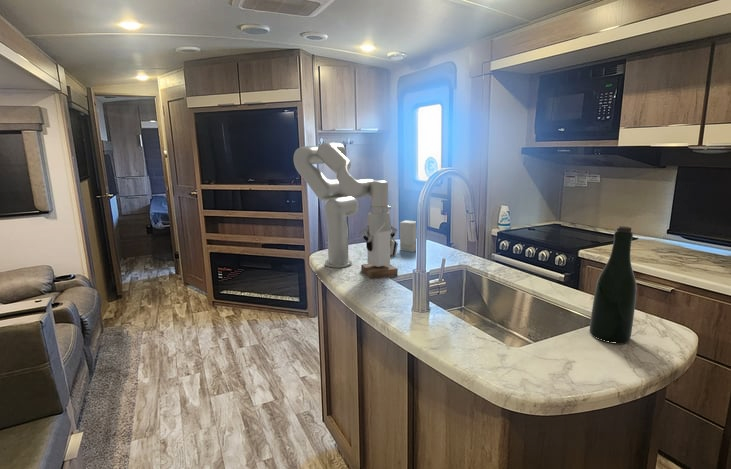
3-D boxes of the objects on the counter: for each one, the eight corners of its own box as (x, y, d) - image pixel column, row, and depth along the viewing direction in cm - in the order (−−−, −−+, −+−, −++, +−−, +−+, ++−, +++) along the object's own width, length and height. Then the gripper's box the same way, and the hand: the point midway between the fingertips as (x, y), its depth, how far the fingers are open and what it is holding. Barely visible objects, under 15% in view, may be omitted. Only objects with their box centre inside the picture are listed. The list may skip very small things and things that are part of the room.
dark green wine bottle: (632, 335, 119) (649, 226, 112) (627, 349, 111) (644, 232, 104) (593, 325, 126) (606, 221, 118) (585, 337, 118) (599, 227, 111)
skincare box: (418, 250, 215) (419, 221, 212) (412, 252, 210) (413, 223, 207) (405, 247, 220) (406, 219, 217) (399, 250, 215) (399, 221, 212)
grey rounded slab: (368, 250, 215) (373, 232, 215) (375, 252, 218) (380, 234, 218) (388, 257, 202) (393, 238, 202) (395, 259, 205) (400, 240, 205)
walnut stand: (361, 271, 181) (361, 264, 180) (385, 267, 185) (385, 261, 185) (372, 279, 170) (372, 272, 169) (397, 275, 174) (397, 268, 174)
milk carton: (378, 267, 172) (378, 223, 168) (367, 263, 177) (367, 221, 173) (390, 264, 176) (390, 221, 172) (379, 260, 182) (379, 219, 177)
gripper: (393, 207, 178) (392, 245, 182) (356, 209, 171) (357, 249, 175) (401, 209, 171) (400, 249, 175) (363, 212, 165) (363, 253, 169)
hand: (378, 249), depth 175 cm, fingers closed on milk carton, 8 cm apart
